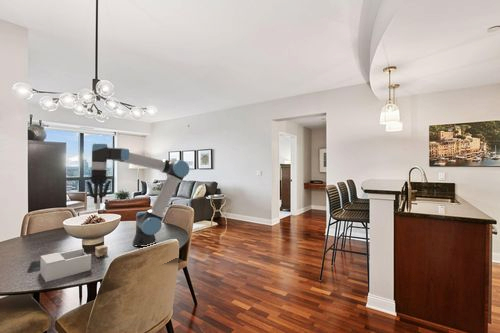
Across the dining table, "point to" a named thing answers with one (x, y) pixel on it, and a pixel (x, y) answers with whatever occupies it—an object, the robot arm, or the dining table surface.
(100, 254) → the oak block
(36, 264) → the smartphone
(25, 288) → the dining table surface
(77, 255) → the white drawer housing
